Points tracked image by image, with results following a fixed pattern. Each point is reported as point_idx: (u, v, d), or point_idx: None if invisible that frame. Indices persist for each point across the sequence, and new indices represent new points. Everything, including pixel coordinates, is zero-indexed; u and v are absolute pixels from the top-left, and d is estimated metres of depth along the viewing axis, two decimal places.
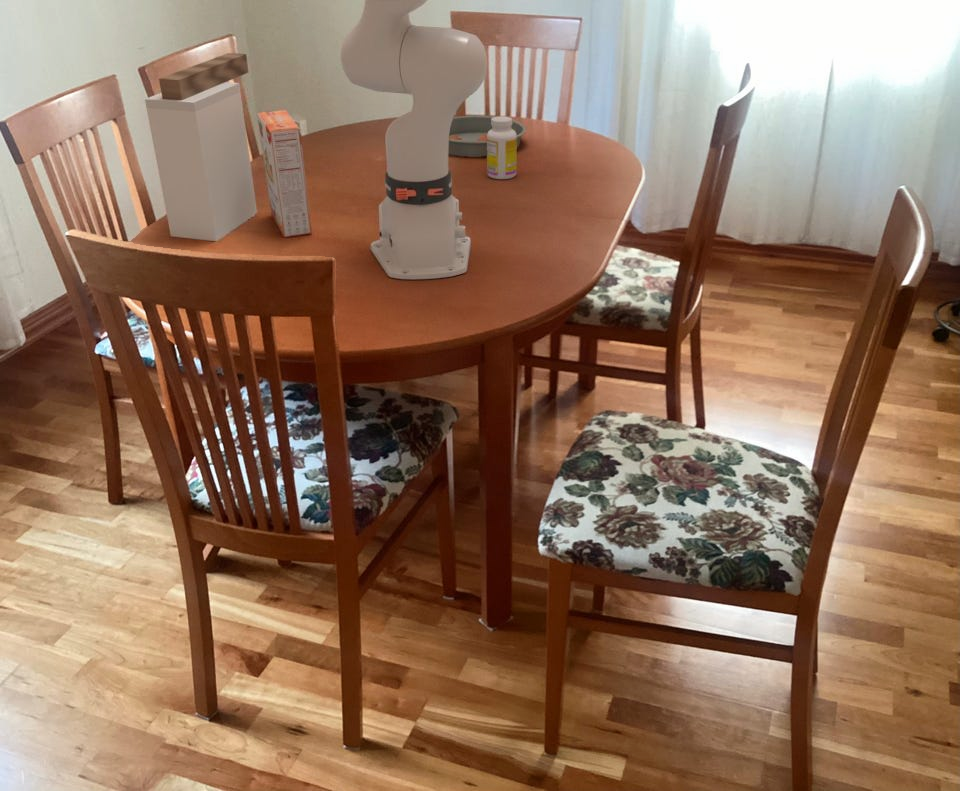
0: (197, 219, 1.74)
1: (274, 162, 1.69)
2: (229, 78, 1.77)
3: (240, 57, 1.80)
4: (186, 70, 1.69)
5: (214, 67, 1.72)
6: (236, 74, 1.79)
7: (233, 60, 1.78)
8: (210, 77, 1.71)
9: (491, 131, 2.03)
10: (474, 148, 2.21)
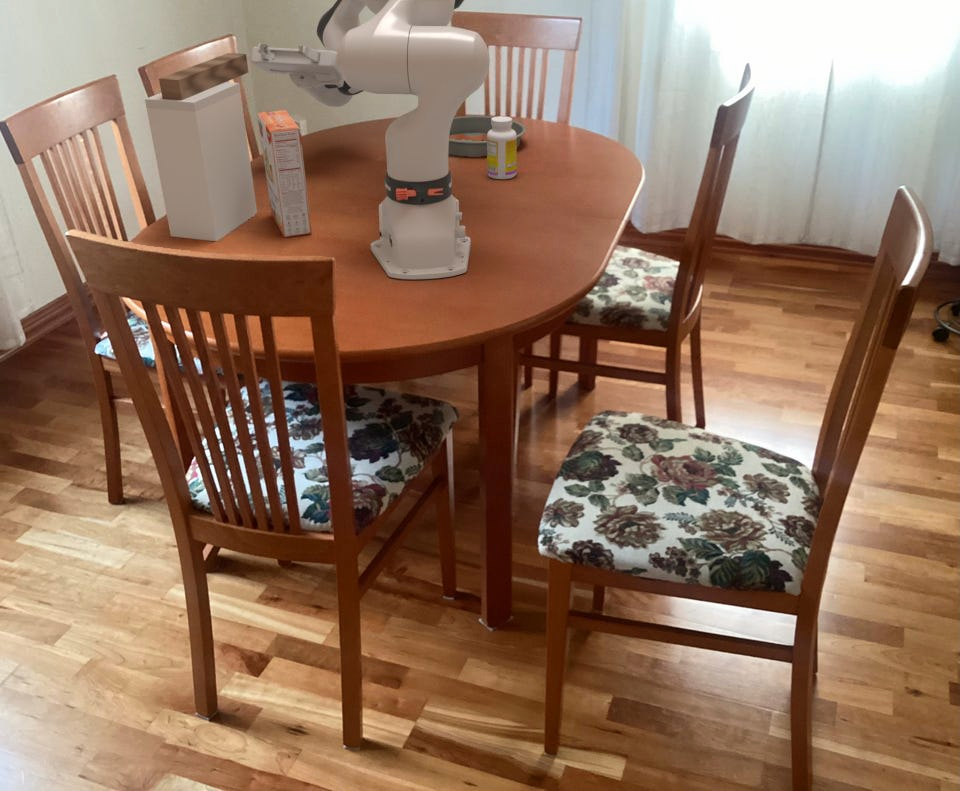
0: (197, 219, 1.74)
1: (274, 162, 1.69)
2: (229, 78, 1.77)
3: (240, 57, 1.80)
4: (186, 70, 1.69)
5: (214, 67, 1.72)
6: (236, 74, 1.79)
7: (233, 60, 1.78)
8: (210, 77, 1.71)
9: (491, 131, 2.03)
10: (474, 148, 2.21)
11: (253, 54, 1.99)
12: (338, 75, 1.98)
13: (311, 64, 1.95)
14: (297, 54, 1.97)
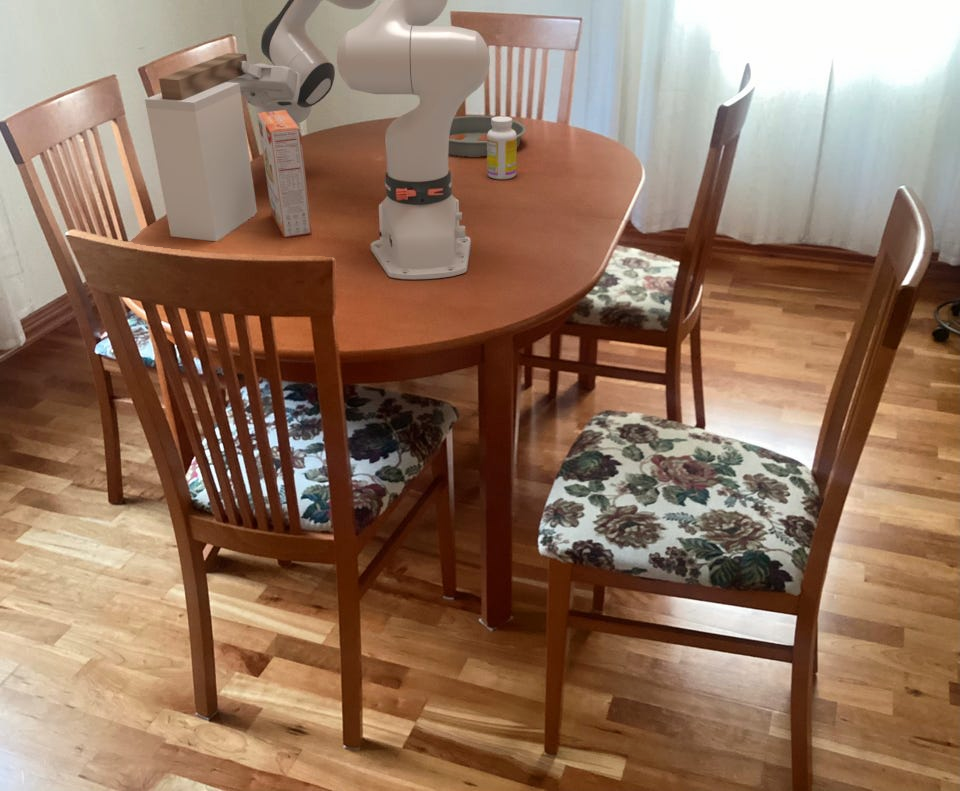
0: (197, 219, 1.74)
1: (274, 162, 1.69)
2: (229, 78, 1.77)
3: (240, 57, 1.80)
4: (186, 70, 1.69)
5: (214, 67, 1.72)
6: (236, 74, 1.79)
7: (233, 60, 1.78)
8: (210, 77, 1.71)
9: (491, 131, 2.03)
10: (474, 148, 2.21)
11: None
12: (291, 92, 1.86)
13: (261, 80, 1.83)
14: None
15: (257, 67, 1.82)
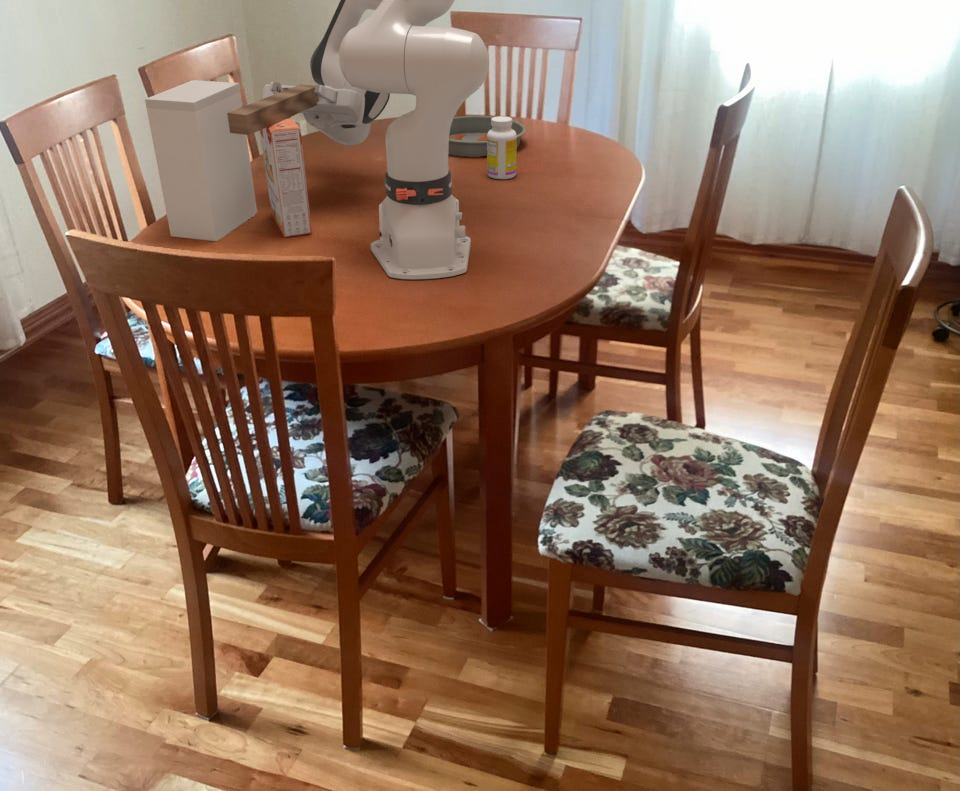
0: (197, 219, 1.74)
1: (274, 162, 1.69)
2: (299, 111, 1.76)
3: (311, 89, 1.78)
4: (255, 103, 1.68)
5: (284, 100, 1.71)
6: (306, 106, 1.78)
7: (304, 93, 1.76)
8: (279, 110, 1.70)
9: (491, 131, 2.03)
10: (474, 148, 2.21)
11: (265, 92, 1.84)
12: (356, 115, 1.83)
13: (327, 104, 1.81)
14: None
15: (333, 91, 1.79)
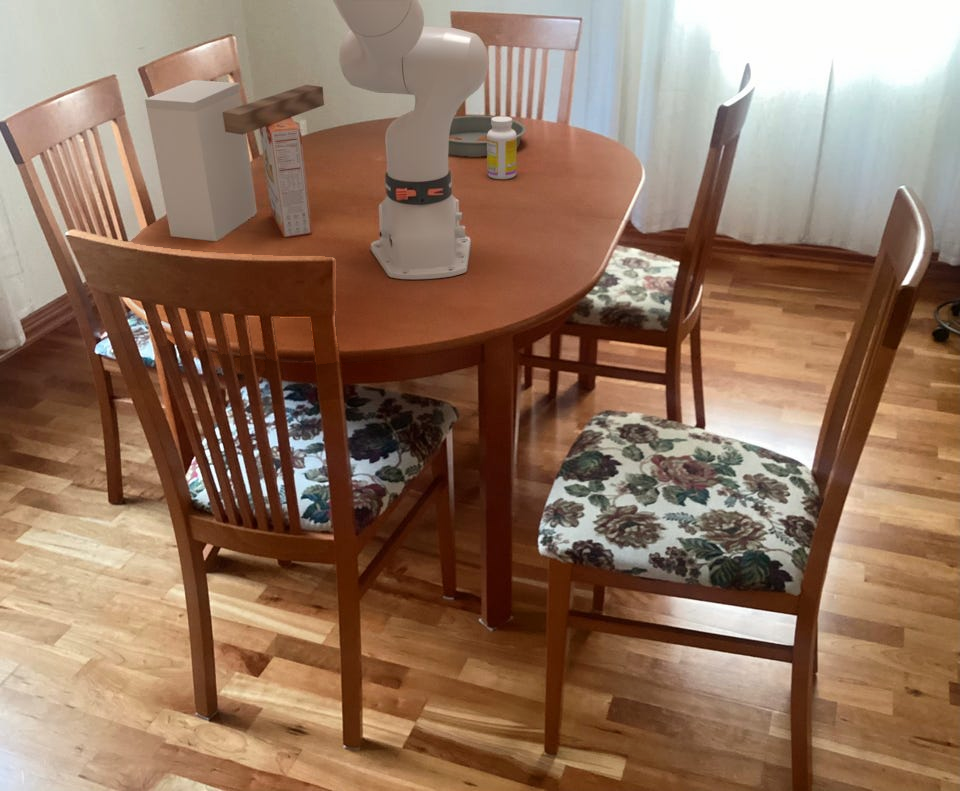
0: (197, 219, 1.74)
1: (274, 162, 1.69)
2: (300, 111, 1.75)
3: (315, 90, 1.78)
4: (254, 103, 1.68)
5: (283, 101, 1.70)
6: (309, 107, 1.77)
7: (306, 93, 1.76)
8: (277, 111, 1.70)
9: (491, 131, 2.03)
10: (474, 148, 2.21)
11: None
12: None
13: None
14: None
15: None
